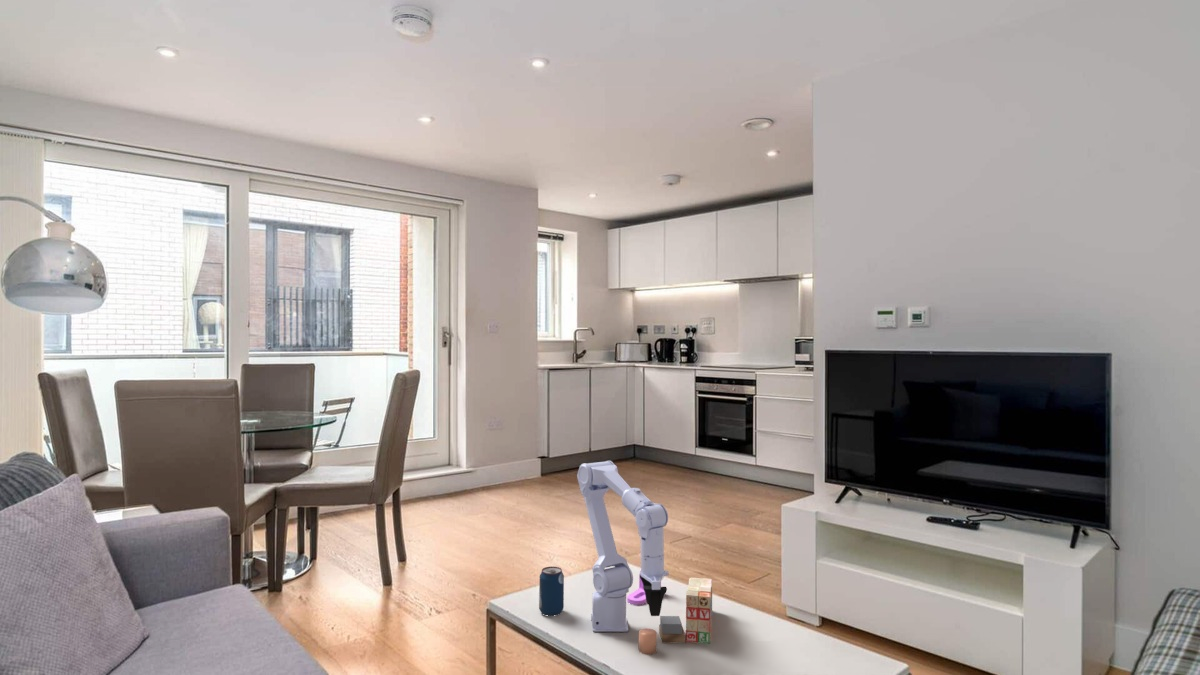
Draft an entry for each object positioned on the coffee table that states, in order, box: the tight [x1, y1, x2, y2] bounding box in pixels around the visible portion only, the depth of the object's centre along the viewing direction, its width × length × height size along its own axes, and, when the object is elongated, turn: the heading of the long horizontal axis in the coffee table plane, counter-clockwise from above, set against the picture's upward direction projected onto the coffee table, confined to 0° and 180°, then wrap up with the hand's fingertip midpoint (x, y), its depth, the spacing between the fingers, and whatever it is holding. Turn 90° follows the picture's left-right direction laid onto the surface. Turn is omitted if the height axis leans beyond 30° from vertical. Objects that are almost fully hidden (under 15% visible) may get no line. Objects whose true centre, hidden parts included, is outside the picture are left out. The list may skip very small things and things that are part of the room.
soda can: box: [538, 566, 565, 617], centre depth 182 cm, size 7×7×12 cm
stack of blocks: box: [685, 577, 713, 645], centre depth 175 cm, size 21×6×12 cm, turn 169°
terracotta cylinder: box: [638, 627, 658, 656], centre depth 160 cm, size 4×4×4 cm
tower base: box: [658, 623, 686, 644], centre depth 167 cm, size 6×6×2 cm
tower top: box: [659, 615, 683, 634], centre depth 167 cm, size 5×5×2 cm
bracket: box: [626, 570, 662, 606], centre depth 194 cm, size 13×6×7 cm, turn 147°
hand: (653, 609), depth 160 cm, fingers open, 7 cm apart
